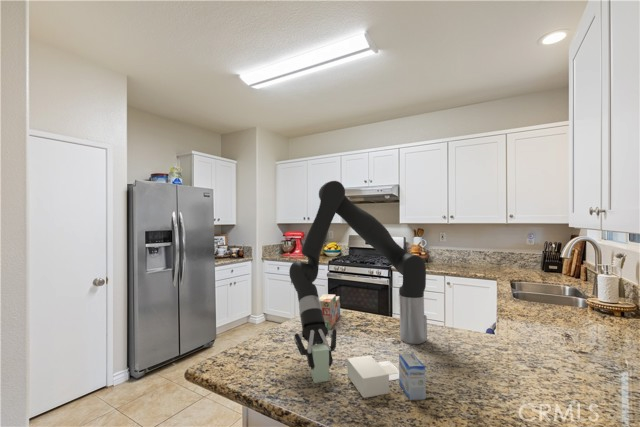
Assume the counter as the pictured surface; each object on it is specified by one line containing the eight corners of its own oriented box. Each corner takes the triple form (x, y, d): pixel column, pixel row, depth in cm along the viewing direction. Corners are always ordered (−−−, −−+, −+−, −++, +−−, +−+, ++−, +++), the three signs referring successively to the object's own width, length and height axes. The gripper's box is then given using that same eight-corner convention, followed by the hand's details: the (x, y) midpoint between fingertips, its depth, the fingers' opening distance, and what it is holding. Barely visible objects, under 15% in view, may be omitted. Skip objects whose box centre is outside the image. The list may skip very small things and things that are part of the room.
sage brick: (325, 373, 90) (324, 343, 91) (329, 380, 86) (328, 349, 86) (310, 375, 89) (310, 345, 89) (314, 383, 85) (313, 351, 85)
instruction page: (388, 361, 97) (388, 360, 97) (407, 378, 87) (407, 376, 87) (366, 364, 95) (366, 363, 95) (382, 382, 85) (382, 381, 85)
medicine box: (398, 384, 84) (398, 353, 84) (414, 383, 84) (413, 352, 84) (409, 401, 76) (408, 366, 76) (426, 399, 76) (425, 365, 76)
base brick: (370, 371, 91) (369, 355, 91) (389, 393, 79) (388, 374, 79) (347, 375, 89) (347, 358, 89) (363, 397, 77) (363, 378, 77)
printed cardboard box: (328, 314, 150) (327, 289, 150) (340, 314, 148) (340, 290, 148) (316, 328, 129) (316, 300, 130) (330, 329, 127) (330, 301, 128)
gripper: (291, 309, 94) (299, 365, 81) (334, 305, 97) (347, 358, 85) (288, 320, 99) (295, 375, 86) (329, 316, 102) (341, 368, 90)
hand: (321, 366), depth 86 cm, fingers closed on sage brick, 4 cm apart
